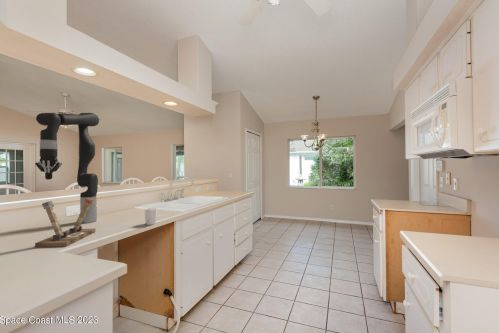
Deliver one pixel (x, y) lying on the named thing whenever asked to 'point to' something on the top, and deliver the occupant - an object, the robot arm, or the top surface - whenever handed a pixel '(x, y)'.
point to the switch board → (65, 238)
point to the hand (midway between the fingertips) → (48, 179)
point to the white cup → (151, 216)
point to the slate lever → (53, 217)
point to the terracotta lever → (83, 212)
